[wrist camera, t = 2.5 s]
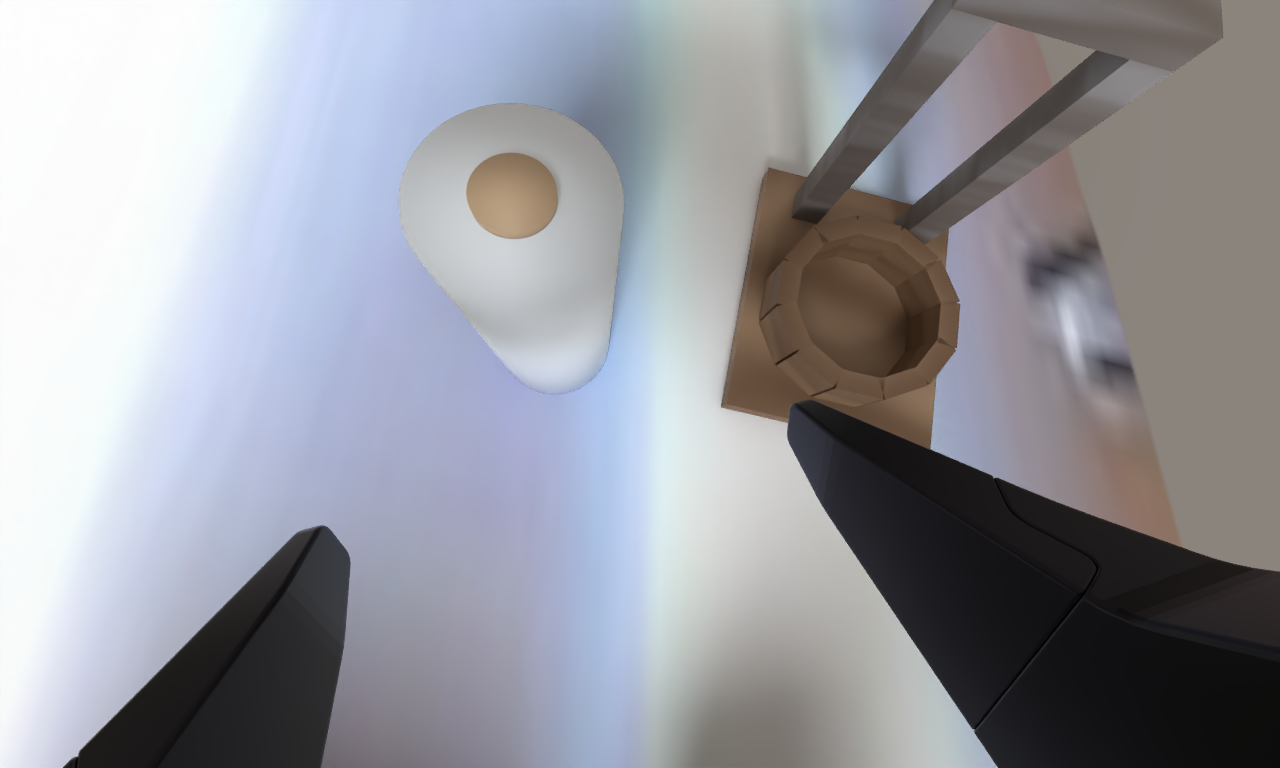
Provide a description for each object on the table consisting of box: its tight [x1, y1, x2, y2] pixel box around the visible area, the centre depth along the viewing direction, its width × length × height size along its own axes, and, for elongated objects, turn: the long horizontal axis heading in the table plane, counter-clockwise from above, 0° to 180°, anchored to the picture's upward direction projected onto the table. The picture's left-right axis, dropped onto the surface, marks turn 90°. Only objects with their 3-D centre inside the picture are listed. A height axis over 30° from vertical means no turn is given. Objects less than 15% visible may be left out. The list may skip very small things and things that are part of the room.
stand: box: [721, 0, 1223, 449], centre depth 20 cm, size 14×11×14 cm
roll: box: [398, 103, 624, 394], centre depth 18 cm, size 6×6×13 cm
